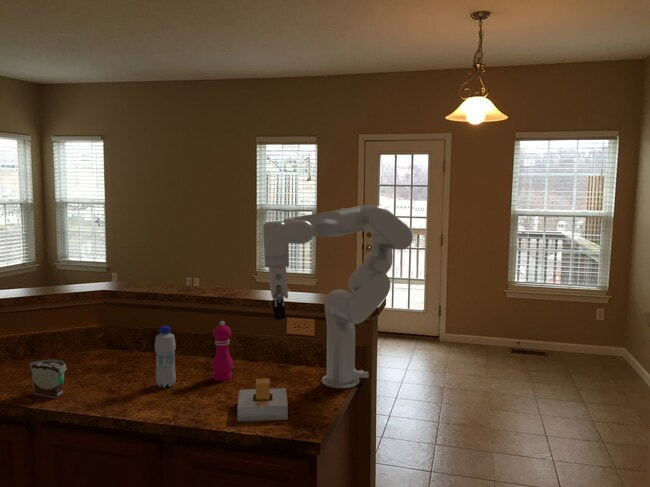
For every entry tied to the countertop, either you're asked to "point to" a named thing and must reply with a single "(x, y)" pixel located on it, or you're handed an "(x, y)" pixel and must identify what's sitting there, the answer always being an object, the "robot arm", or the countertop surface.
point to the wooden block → (262, 389)
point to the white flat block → (262, 406)
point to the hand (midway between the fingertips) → (279, 315)
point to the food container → (48, 377)
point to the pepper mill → (222, 353)
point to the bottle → (165, 357)
